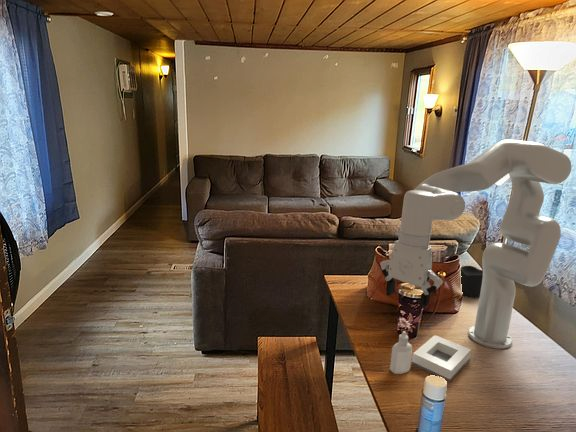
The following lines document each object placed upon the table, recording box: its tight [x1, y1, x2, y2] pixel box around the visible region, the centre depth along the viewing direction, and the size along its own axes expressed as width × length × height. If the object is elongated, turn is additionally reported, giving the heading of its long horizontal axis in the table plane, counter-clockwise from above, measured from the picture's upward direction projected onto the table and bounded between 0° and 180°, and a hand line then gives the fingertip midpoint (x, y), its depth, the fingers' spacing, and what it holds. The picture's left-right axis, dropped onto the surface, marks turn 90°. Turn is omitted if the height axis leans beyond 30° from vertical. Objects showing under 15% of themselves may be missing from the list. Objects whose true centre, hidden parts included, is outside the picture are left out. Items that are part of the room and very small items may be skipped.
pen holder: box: [460, 265, 483, 299], centre depth 164 cm, size 9×9×10 cm
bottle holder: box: [411, 334, 472, 383], centre depth 120 cm, size 14×11×4 cm
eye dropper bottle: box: [389, 330, 413, 375], centre depth 115 cm, size 4×6×12 cm
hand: (406, 300), depth 111 cm, fingers open, 9 cm apart
